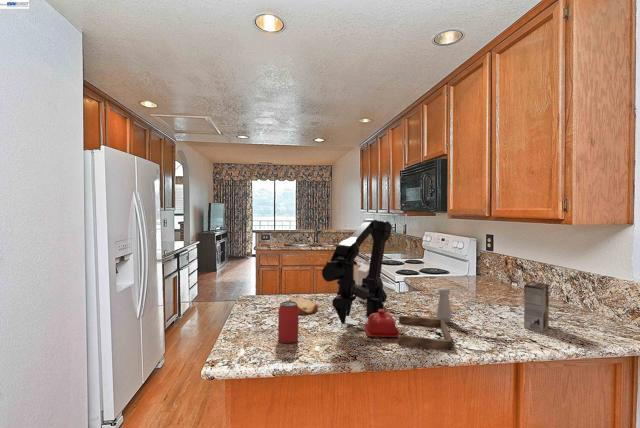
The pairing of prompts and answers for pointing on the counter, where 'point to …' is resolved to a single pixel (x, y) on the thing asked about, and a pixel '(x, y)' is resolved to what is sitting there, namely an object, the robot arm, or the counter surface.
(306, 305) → the slice of bread
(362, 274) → the milk carton
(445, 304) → the salt shaker
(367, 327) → the butter dish
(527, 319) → the coffee box
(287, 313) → the beer can
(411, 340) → the walnut bay
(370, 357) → the counter surface
